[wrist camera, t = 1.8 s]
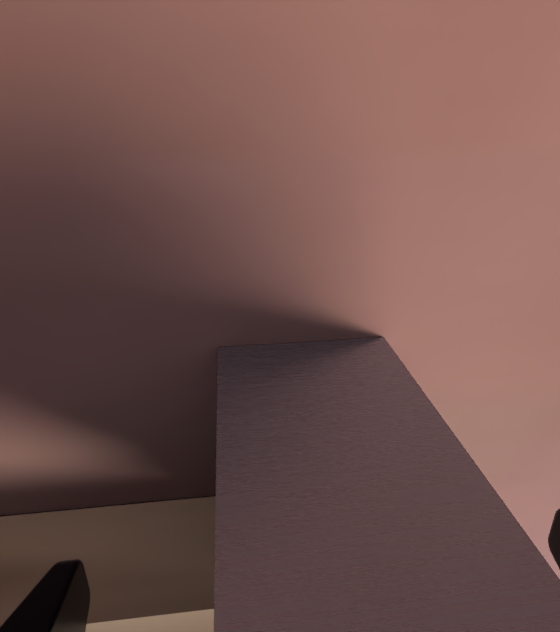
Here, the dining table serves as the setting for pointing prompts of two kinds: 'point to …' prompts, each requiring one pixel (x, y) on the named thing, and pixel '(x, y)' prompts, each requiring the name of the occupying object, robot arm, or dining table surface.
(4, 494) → the dining table surface
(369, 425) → the square bit
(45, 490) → the dining table surface
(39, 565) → the bore block
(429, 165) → the dining table surface
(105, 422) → the dining table surface
